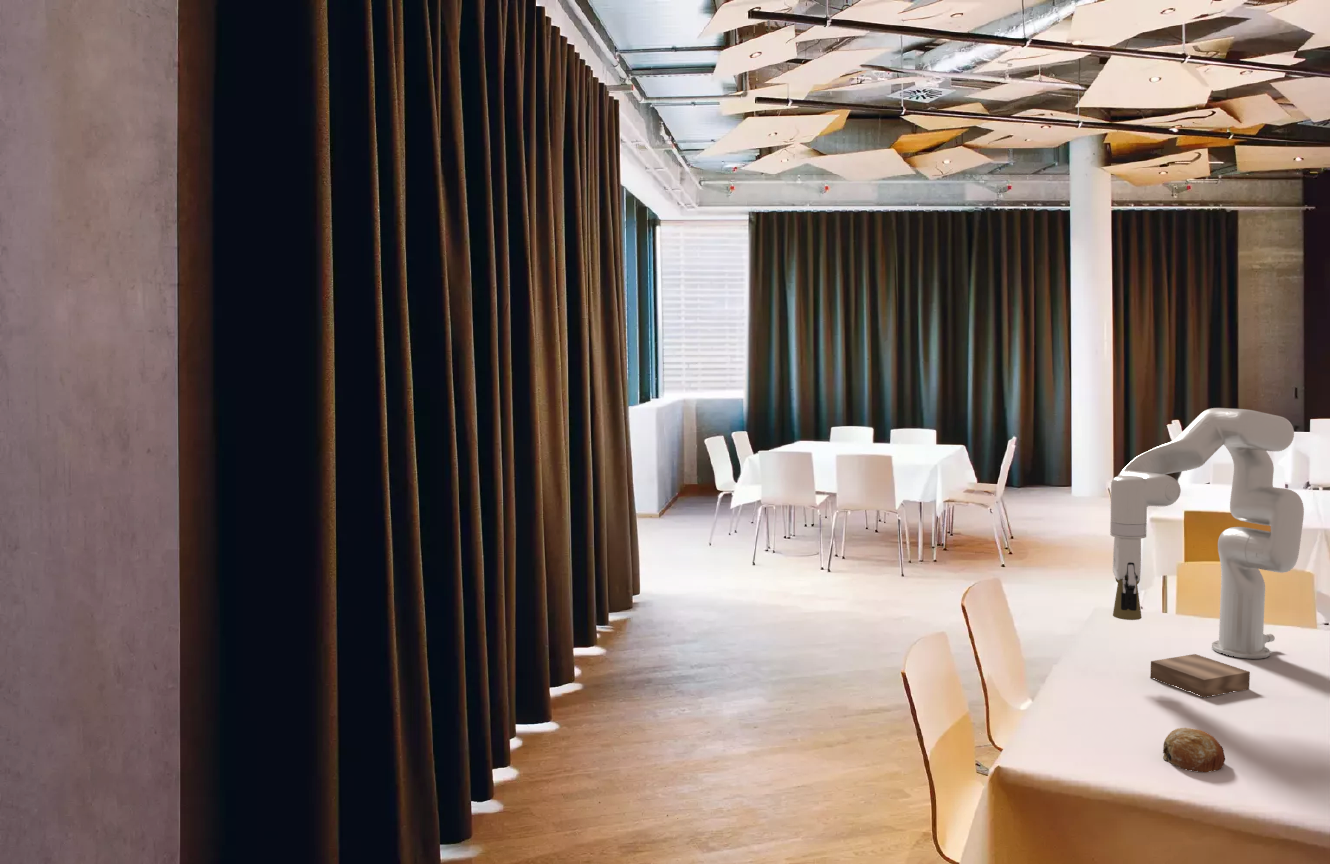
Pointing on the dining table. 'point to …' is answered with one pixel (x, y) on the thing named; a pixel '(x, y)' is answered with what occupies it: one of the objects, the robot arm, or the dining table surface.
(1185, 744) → the bread roll
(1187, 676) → the walnut plinth
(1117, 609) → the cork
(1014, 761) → the dining table surface
